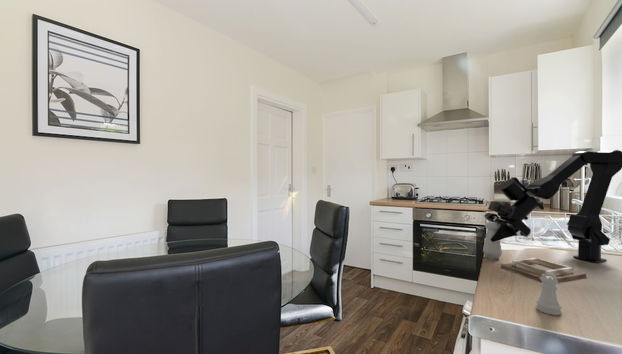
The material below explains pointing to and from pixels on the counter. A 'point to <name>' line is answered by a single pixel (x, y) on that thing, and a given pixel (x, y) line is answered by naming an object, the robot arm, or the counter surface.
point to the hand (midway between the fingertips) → (488, 239)
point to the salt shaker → (492, 248)
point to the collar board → (542, 269)
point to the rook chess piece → (549, 296)
